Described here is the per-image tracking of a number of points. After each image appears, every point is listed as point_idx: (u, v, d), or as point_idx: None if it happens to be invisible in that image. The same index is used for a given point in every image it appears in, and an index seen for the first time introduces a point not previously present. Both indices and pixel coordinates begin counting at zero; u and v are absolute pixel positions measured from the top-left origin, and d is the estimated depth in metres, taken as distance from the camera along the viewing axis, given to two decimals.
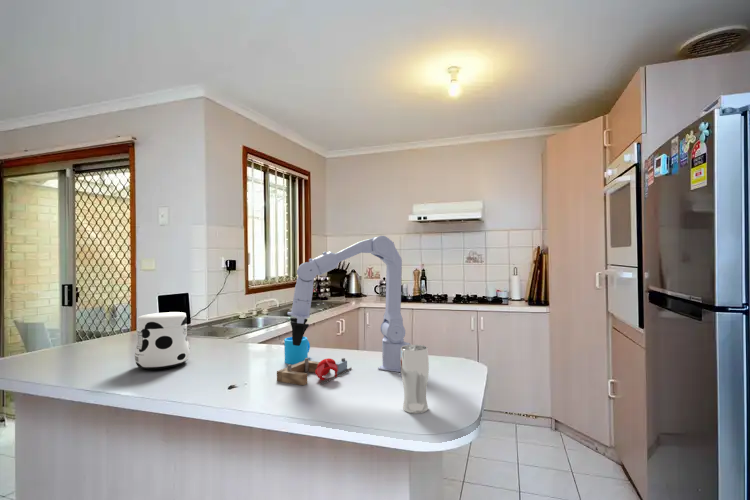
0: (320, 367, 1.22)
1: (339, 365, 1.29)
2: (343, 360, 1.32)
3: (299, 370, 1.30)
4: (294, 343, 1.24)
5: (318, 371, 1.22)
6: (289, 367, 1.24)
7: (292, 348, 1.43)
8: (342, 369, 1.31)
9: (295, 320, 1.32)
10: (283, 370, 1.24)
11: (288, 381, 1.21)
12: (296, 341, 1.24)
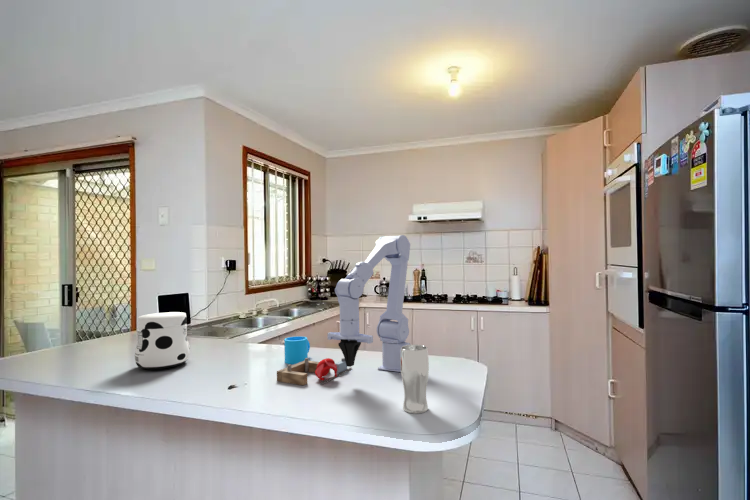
0: (319, 367, 1.22)
1: (339, 365, 1.29)
2: (343, 360, 1.32)
3: (299, 370, 1.30)
4: (351, 364, 1.18)
5: (318, 371, 1.22)
6: (289, 367, 1.24)
7: (292, 348, 1.43)
8: (342, 369, 1.31)
9: None
10: (283, 370, 1.24)
11: (288, 381, 1.21)
12: (352, 361, 1.19)
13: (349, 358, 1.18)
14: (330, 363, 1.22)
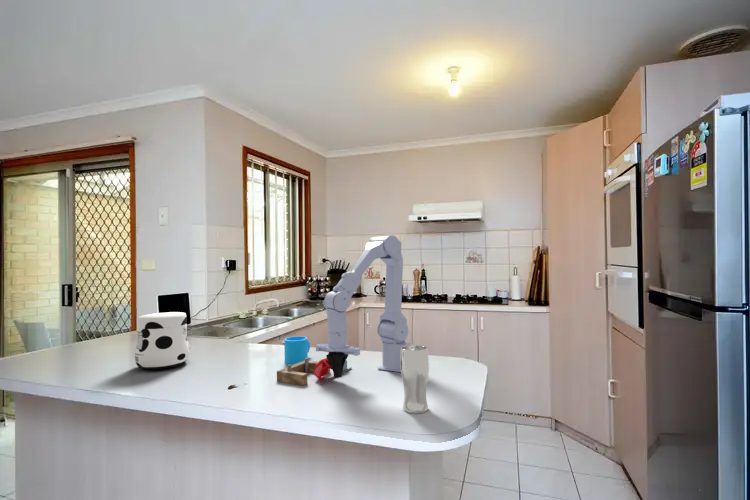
0: (318, 367, 1.22)
1: None
2: None
3: (299, 370, 1.30)
4: (338, 376, 1.21)
5: (316, 371, 1.22)
6: (289, 367, 1.24)
7: (292, 348, 1.43)
8: None
9: None
10: (283, 370, 1.24)
11: (288, 381, 1.21)
12: (339, 373, 1.21)
13: (336, 370, 1.20)
14: (329, 363, 1.22)
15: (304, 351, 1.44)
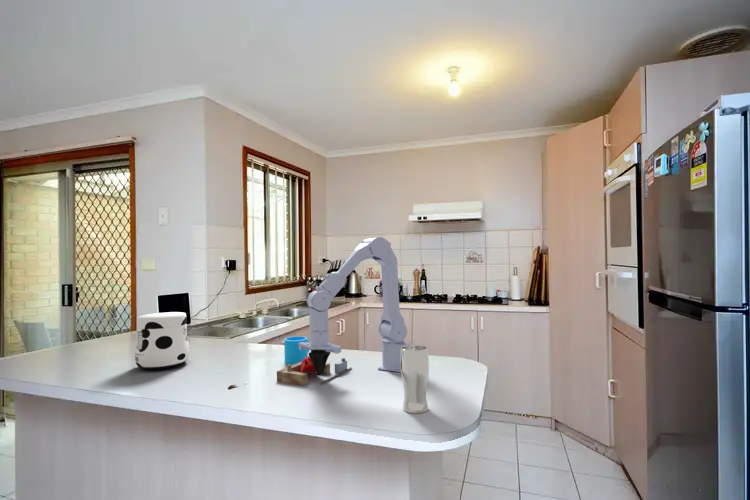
0: (302, 364, 1.26)
1: (339, 365, 1.29)
2: (343, 360, 1.32)
3: (299, 370, 1.30)
4: (320, 373, 1.24)
5: (301, 368, 1.27)
6: (289, 367, 1.24)
7: (292, 348, 1.43)
8: (342, 369, 1.31)
9: None
10: (283, 370, 1.24)
11: (288, 381, 1.21)
12: (321, 370, 1.24)
13: (318, 367, 1.23)
14: (311, 361, 1.25)
15: (304, 351, 1.44)
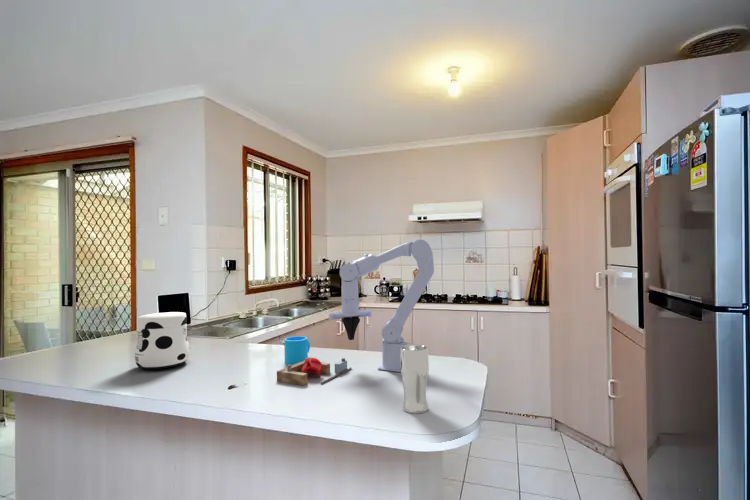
0: (304, 365, 1.26)
1: (339, 365, 1.29)
2: (343, 360, 1.32)
3: (299, 370, 1.30)
4: None
5: (302, 369, 1.27)
6: (289, 367, 1.24)
7: (292, 348, 1.43)
8: (342, 369, 1.31)
9: None
10: (283, 370, 1.24)
11: (288, 381, 1.21)
12: None
13: (354, 332, 1.36)
14: (314, 363, 1.25)
15: (304, 351, 1.44)
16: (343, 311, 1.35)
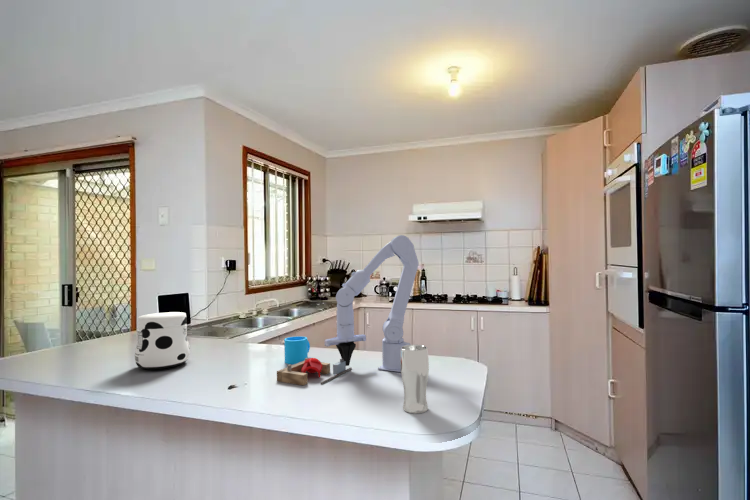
0: (304, 365, 1.26)
1: (337, 366, 1.29)
2: (341, 361, 1.32)
3: (299, 370, 1.30)
4: None
5: (302, 369, 1.27)
6: (289, 367, 1.24)
7: (292, 348, 1.43)
8: (340, 370, 1.30)
9: None
10: (283, 370, 1.24)
11: (288, 381, 1.21)
12: None
13: (349, 358, 1.34)
14: (314, 363, 1.25)
15: (304, 351, 1.44)
16: (339, 337, 1.32)
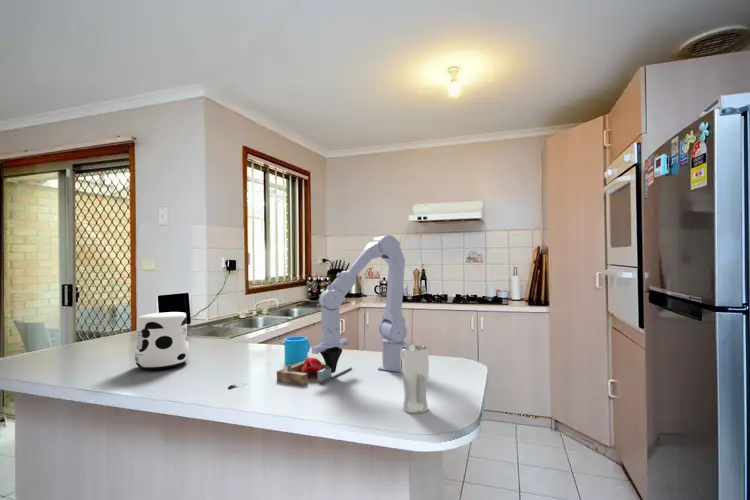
0: (304, 365, 1.26)
1: (322, 373, 1.21)
2: (327, 367, 1.24)
3: (299, 370, 1.30)
4: None
5: (302, 369, 1.27)
6: (289, 367, 1.24)
7: (292, 348, 1.43)
8: (326, 377, 1.23)
9: None
10: (283, 370, 1.24)
11: (288, 381, 1.21)
12: None
13: (336, 364, 1.26)
14: (314, 363, 1.25)
15: (304, 351, 1.44)
16: (326, 342, 1.24)
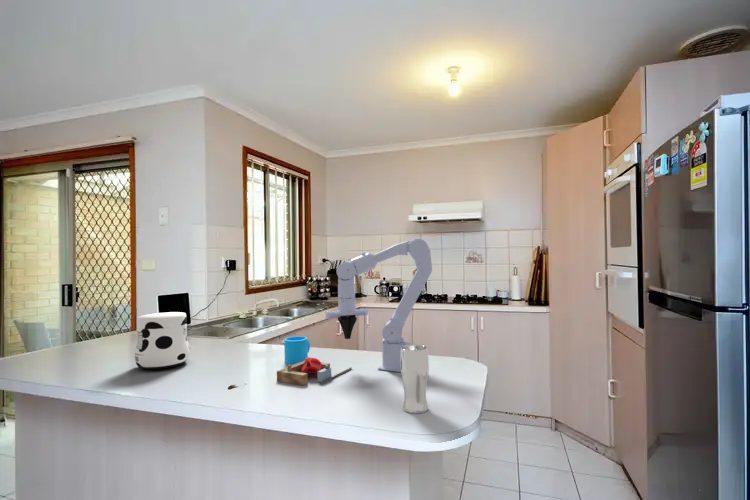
0: (304, 365, 1.26)
1: (322, 373, 1.21)
2: (327, 367, 1.24)
3: (299, 370, 1.30)
4: None
5: (302, 369, 1.27)
6: (289, 367, 1.24)
7: (292, 348, 1.43)
8: (325, 377, 1.23)
9: None
10: (283, 370, 1.24)
11: (288, 381, 1.21)
12: None
13: (350, 331, 1.35)
14: (314, 364, 1.25)
15: (304, 351, 1.44)
16: (340, 310, 1.35)
